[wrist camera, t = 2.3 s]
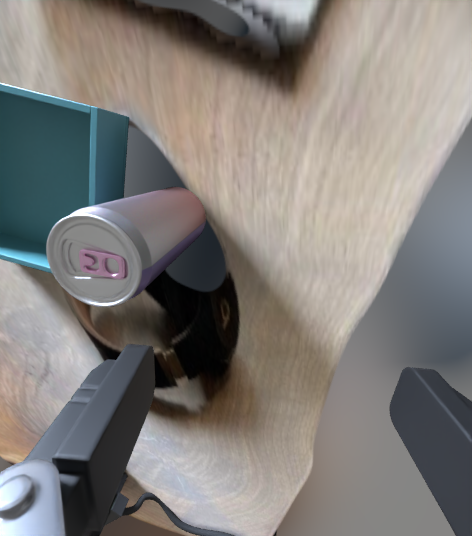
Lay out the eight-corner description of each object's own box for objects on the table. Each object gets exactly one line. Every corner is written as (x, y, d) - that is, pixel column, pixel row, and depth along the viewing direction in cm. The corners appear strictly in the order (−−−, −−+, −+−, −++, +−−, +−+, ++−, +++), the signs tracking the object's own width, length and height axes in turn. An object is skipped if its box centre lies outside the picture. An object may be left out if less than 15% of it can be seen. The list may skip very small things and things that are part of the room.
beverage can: (204, 246, 30) (142, 319, 16) (152, 237, 30) (48, 300, 17) (210, 191, 28) (143, 220, 14) (154, 182, 28) (35, 201, 14)
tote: (129, 117, 26) (97, 107, 22) (118, 267, 32) (92, 285, 28) (-35, 75, 27) (-100, 57, 22) (-15, 230, 33) (-62, 241, 29)
